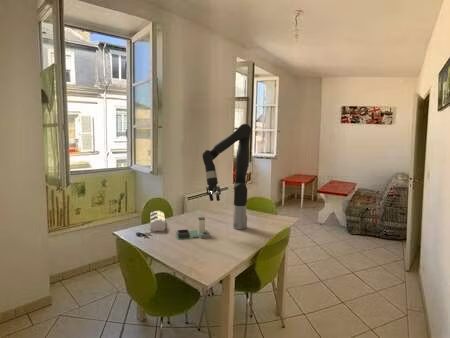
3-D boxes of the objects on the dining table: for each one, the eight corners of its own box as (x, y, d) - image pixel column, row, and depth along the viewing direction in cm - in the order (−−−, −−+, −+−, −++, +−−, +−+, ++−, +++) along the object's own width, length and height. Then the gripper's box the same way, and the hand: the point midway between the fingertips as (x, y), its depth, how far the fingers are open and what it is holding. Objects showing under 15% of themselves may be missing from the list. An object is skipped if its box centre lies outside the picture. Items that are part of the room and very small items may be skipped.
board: (206, 231, 221) (206, 225, 220) (211, 239, 205) (211, 233, 205) (175, 233, 215) (175, 227, 215) (177, 242, 200) (177, 235, 199)
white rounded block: (150, 220, 244) (150, 204, 242) (163, 220, 246) (163, 203, 244) (150, 231, 220) (150, 213, 218) (165, 230, 222) (165, 212, 220)
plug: (203, 232, 215) (204, 217, 213) (204, 234, 211) (205, 218, 210) (198, 232, 214) (198, 217, 212) (199, 234, 210) (199, 219, 209)
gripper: (210, 176, 214) (214, 200, 211) (221, 177, 227) (224, 199, 224) (201, 178, 218) (204, 201, 215) (212, 179, 230) (216, 201, 227)
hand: (215, 200), depth 219 cm, fingers open, 8 cm apart
